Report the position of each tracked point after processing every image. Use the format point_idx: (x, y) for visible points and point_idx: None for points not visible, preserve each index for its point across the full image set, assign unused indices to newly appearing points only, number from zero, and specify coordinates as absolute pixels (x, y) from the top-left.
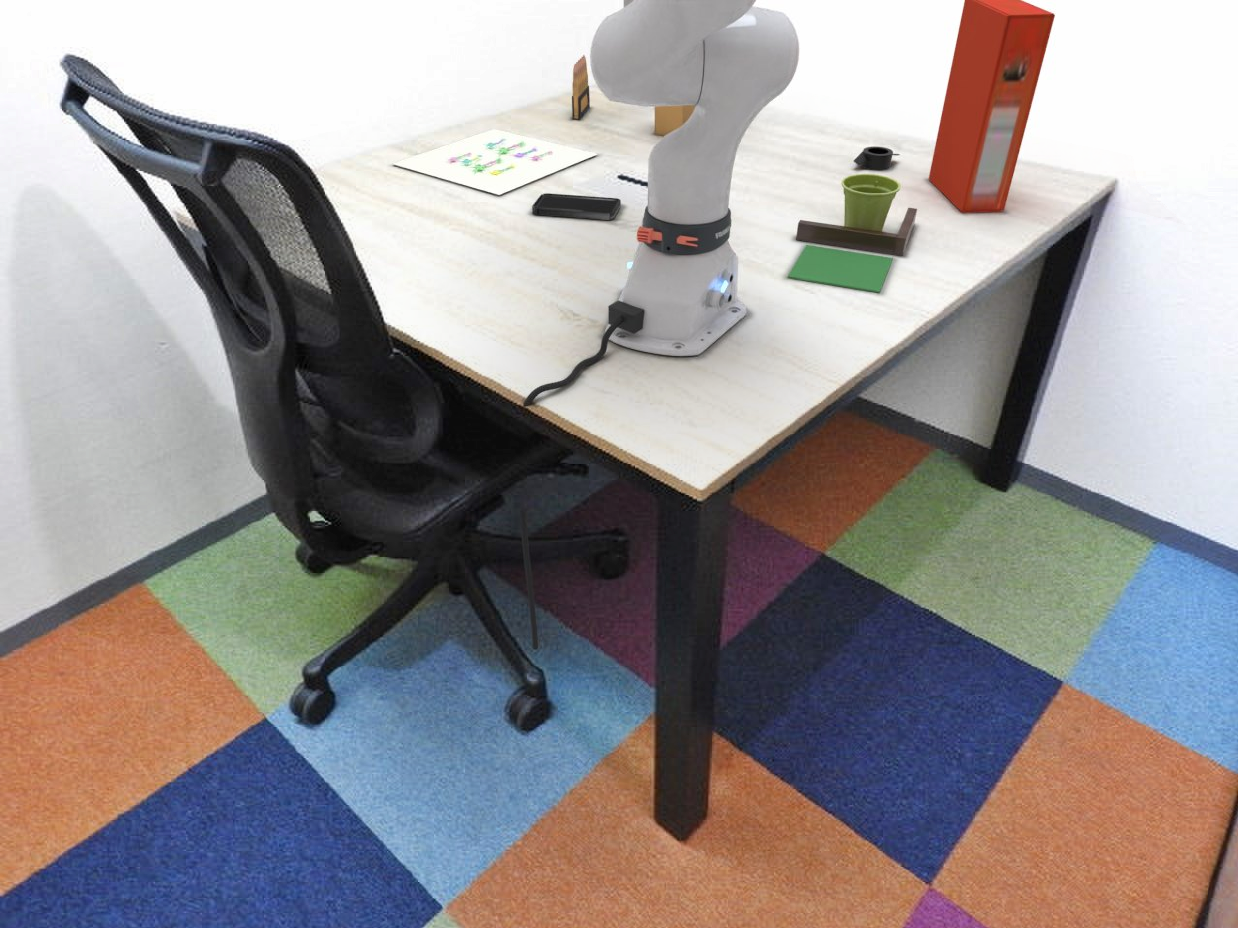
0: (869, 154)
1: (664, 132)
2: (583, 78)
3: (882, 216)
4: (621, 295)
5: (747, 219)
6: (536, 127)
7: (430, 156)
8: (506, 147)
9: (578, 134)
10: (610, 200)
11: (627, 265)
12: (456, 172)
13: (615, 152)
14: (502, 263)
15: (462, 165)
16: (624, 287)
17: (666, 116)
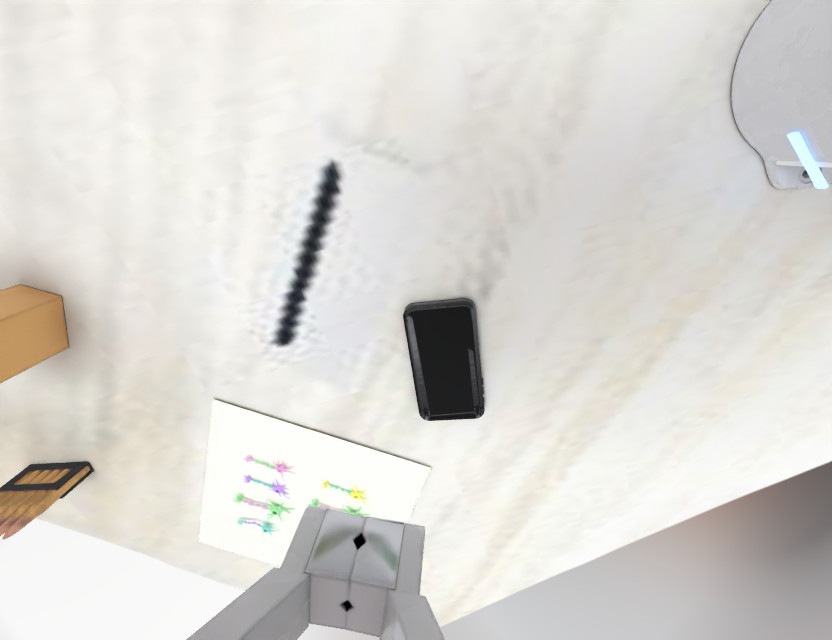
0: None
1: (60, 332)
2: (3, 507)
3: None
4: (830, 181)
5: (386, 52)
6: (154, 501)
7: None
8: (255, 510)
9: (145, 447)
10: (412, 323)
11: (821, 187)
12: None
13: (184, 378)
14: (669, 392)
15: None
16: (794, 187)
17: (32, 342)
